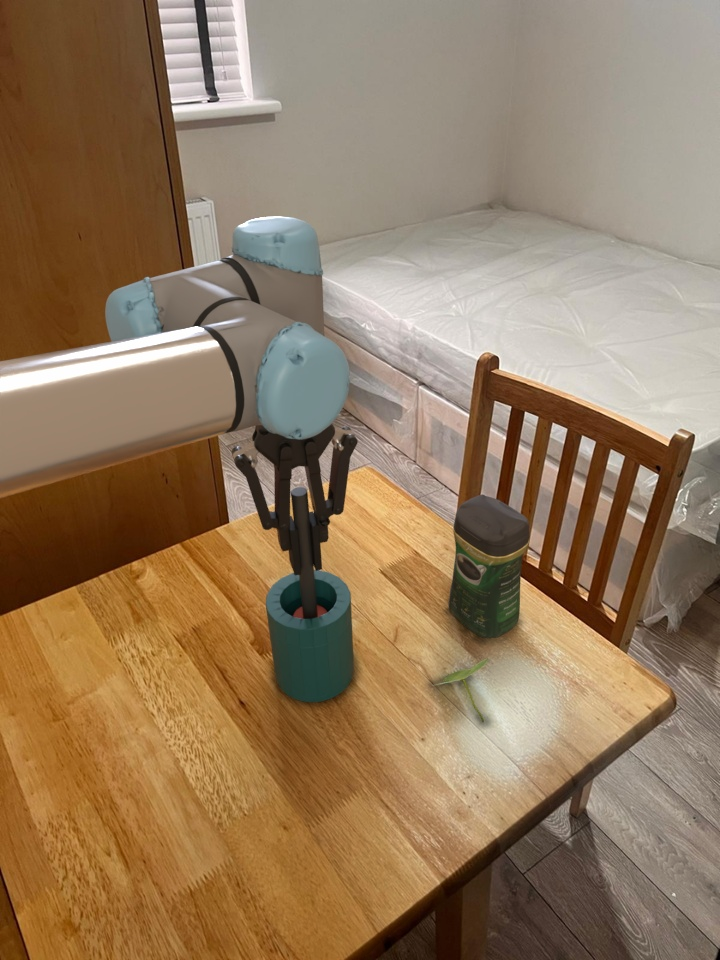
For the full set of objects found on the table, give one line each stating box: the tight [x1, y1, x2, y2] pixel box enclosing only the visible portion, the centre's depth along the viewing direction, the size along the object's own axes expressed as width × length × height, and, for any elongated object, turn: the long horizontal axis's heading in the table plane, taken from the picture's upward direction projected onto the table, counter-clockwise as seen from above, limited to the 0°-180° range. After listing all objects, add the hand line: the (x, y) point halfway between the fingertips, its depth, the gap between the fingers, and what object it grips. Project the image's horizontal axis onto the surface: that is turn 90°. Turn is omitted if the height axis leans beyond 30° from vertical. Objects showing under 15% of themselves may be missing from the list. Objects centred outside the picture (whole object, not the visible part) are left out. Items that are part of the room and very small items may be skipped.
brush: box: [290, 486, 327, 619], centre depth 86 cm, size 4×4×24 cm
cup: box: [265, 569, 355, 703], centre depth 92 cm, size 10×10×13 cm
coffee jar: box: [448, 493, 530, 639], centre depth 97 cm, size 10×8×19 cm
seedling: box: [431, 658, 489, 723], centre depth 90 cm, size 7×8×6 cm
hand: (305, 564), depth 85 cm, fingers closed on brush, 2 cm apart
